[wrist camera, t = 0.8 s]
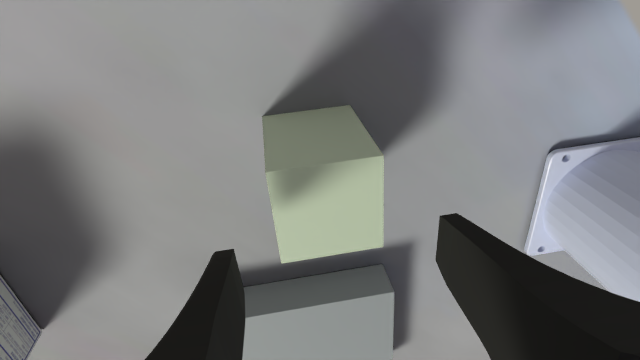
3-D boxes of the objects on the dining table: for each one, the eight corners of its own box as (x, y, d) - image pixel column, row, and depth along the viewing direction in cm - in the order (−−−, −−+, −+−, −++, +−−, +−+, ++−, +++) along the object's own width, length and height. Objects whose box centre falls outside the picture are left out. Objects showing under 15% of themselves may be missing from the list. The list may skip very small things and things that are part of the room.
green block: (349, 104, 20) (383, 155, 15) (352, 180, 22) (383, 246, 17) (262, 116, 19) (265, 172, 14) (274, 191, 22) (281, 263, 16)
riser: (382, 264, 25) (394, 291, 23) (382, 358, 30) (391, 388, 28) (199, 294, 24) (194, 326, 22) (230, 386, 29) (228, 420, 27)
